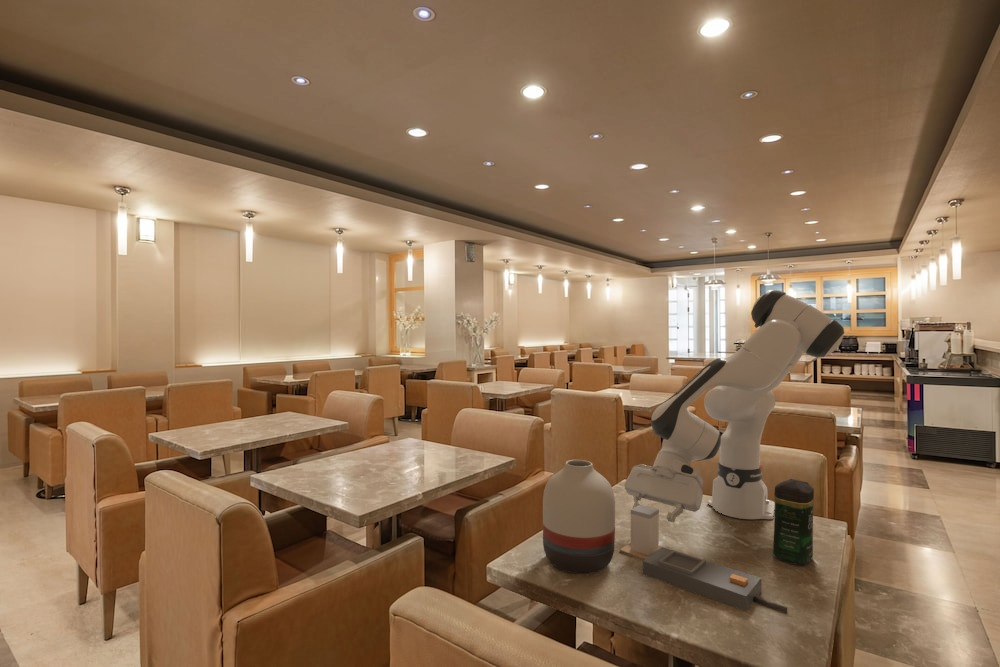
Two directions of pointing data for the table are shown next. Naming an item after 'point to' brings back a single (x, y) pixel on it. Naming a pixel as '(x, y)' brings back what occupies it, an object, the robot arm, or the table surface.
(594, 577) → the table surface
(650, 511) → the block
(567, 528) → the vase
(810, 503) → the coffee jar
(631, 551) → the coaster
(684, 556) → the power strip
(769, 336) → the robot arm
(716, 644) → the table surface
